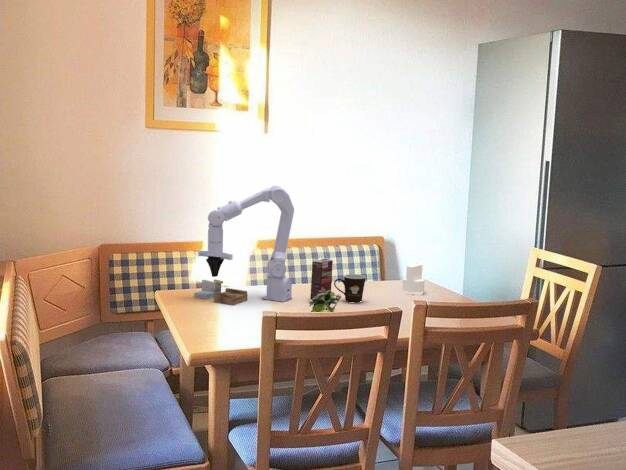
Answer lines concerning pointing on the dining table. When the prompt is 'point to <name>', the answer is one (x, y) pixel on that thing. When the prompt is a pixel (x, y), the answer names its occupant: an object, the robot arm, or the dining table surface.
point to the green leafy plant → (324, 301)
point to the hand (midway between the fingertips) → (214, 276)
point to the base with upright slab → (413, 279)
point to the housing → (230, 296)
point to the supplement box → (321, 276)
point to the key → (211, 285)
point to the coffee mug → (353, 287)
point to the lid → (204, 294)
